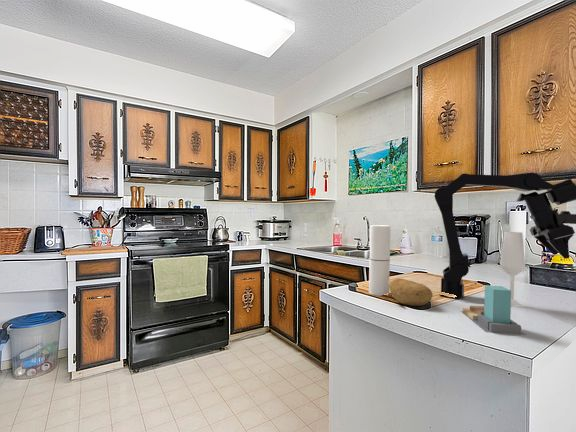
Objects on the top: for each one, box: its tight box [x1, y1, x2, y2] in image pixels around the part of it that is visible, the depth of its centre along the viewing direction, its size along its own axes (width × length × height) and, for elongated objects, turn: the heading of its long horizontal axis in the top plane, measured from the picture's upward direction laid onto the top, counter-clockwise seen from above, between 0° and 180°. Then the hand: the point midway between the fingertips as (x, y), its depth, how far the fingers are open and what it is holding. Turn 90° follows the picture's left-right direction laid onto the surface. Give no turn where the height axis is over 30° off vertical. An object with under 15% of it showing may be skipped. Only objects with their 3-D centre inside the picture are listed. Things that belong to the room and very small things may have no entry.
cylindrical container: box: [368, 224, 391, 297], centre depth 111 cm, size 7×7×25 cm
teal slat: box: [483, 284, 512, 324], centre depth 78 cm, size 4×4×10 cm
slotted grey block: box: [460, 310, 527, 336], centre depth 81 cm, size 16×9×3 cm, turn 171°
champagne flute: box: [499, 231, 526, 308], centre depth 100 cm, size 7×7×24 cm
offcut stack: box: [461, 305, 484, 320], centre depth 85 cm, size 7×8×2 cm
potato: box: [389, 278, 434, 307], centre depth 98 cm, size 10×14×8 cm
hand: (561, 256), depth 96 cm, fingers open, 9 cm apart
